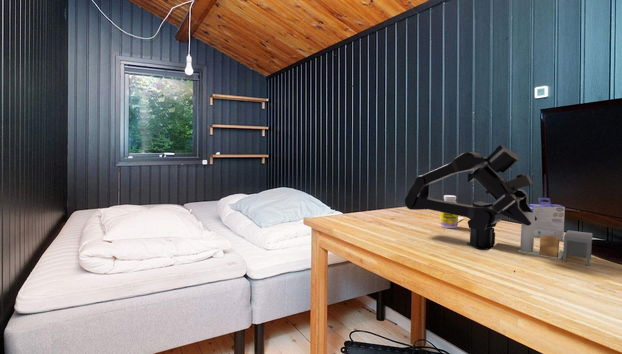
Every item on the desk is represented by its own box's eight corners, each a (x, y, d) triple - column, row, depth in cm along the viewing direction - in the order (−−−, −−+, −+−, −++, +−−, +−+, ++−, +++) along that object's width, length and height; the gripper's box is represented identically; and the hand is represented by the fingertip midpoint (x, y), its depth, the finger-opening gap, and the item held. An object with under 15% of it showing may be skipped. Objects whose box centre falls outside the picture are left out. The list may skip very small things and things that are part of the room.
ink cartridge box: (555, 238, 116) (558, 197, 115) (564, 242, 110) (567, 199, 109) (525, 236, 118) (527, 197, 117) (532, 240, 112) (534, 199, 111)
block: (539, 254, 92) (540, 237, 92) (541, 251, 95) (542, 234, 95) (556, 257, 90) (557, 239, 89) (558, 254, 93) (559, 237, 92)
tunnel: (562, 265, 87) (564, 236, 86) (566, 257, 94) (567, 230, 93) (588, 270, 83) (590, 239, 83) (590, 261, 90) (592, 233, 89)
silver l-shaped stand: (517, 254, 95) (519, 213, 94) (521, 250, 100) (523, 210, 99) (560, 262, 88) (563, 218, 88) (563, 257, 93) (565, 215, 92)
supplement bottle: (440, 227, 131) (441, 196, 130) (440, 224, 137) (441, 194, 136) (458, 229, 129) (459, 197, 128) (457, 226, 135) (458, 195, 134)
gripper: (506, 165, 90) (553, 209, 84) (520, 164, 104) (562, 201, 97) (475, 191, 96) (517, 234, 89) (492, 187, 110) (530, 223, 103)
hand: (533, 222), depth 95 cm, fingers open, 9 cm apart
